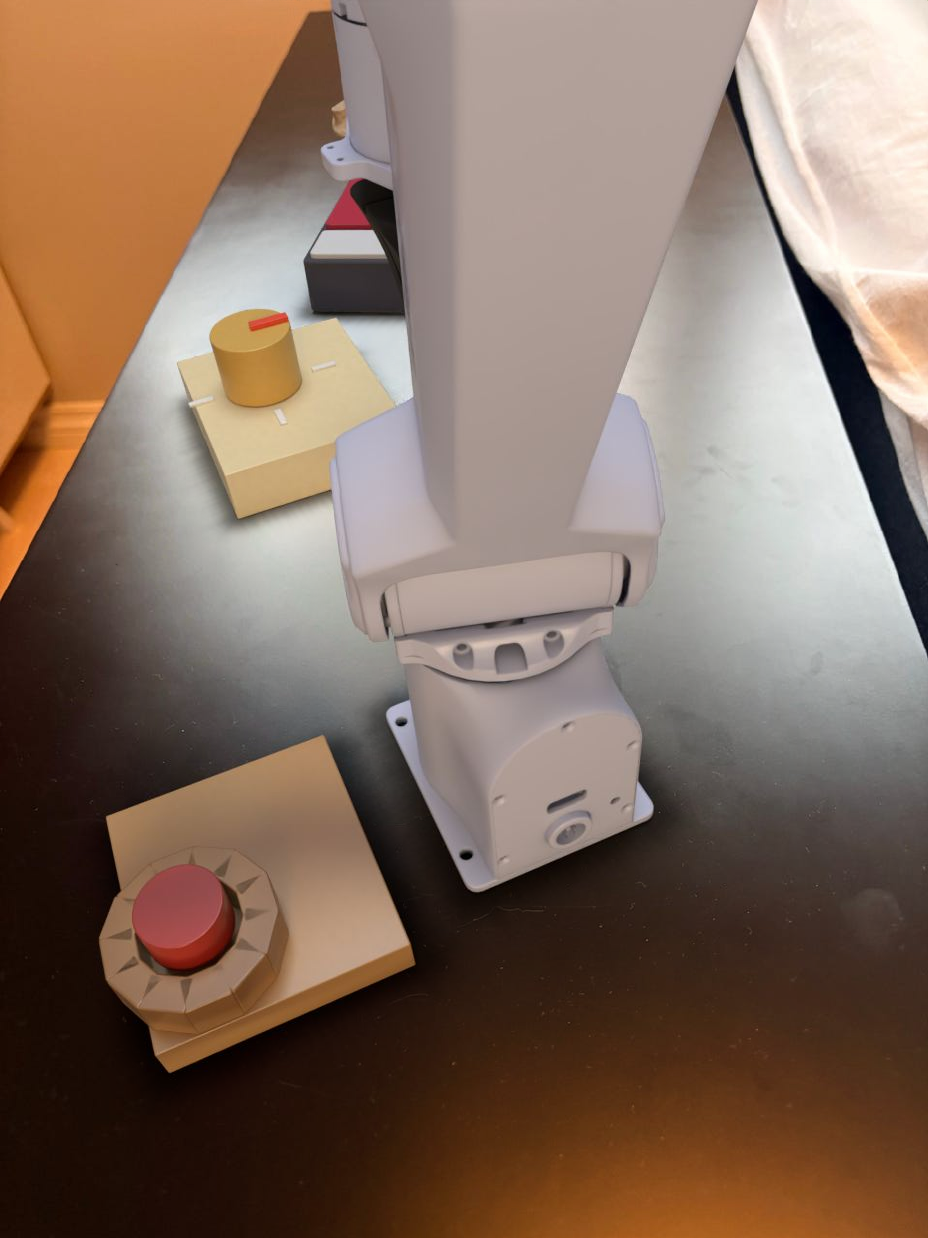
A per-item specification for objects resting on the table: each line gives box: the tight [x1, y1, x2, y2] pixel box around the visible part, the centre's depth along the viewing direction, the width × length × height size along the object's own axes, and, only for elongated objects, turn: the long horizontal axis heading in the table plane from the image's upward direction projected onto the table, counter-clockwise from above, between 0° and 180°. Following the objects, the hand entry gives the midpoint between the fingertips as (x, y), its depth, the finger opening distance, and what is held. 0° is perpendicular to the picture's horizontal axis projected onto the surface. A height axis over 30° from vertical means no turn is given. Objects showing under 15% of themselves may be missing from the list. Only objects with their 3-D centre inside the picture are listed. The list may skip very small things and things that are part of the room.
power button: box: [132, 864, 236, 971], centre depth 33 cm, size 3×3×2 cm
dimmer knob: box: [208, 308, 302, 407], centre depth 55 cm, size 4×4×4 cm
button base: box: [98, 734, 416, 1074], centre depth 36 cm, size 10×10×4 cm
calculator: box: [302, 178, 405, 313], centre depth 70 cm, size 11×4×15 cm
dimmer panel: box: [176, 317, 397, 520], centre depth 57 cm, size 12×10×3 cm
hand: (445, 344), depth 44 cm, fingers closed
